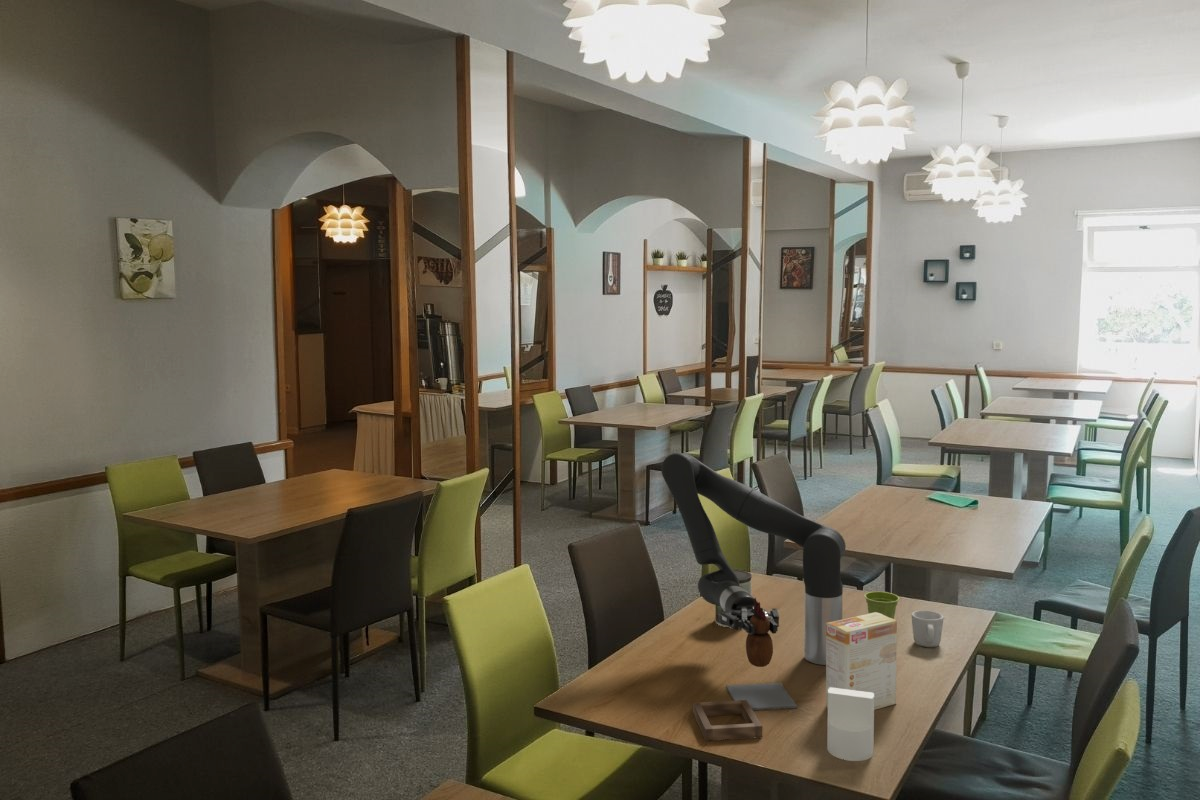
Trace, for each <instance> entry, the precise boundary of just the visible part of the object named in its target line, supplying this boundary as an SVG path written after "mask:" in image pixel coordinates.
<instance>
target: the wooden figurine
mask: <svg viewBox="0 0 1200 800" xmlns="http://www.w3.org/2000/svg"><path fill="white" fill-rule="evenodd" d="M757 602H758V606H757ZM763 609H764V608H763V607H761V602H760V601H758V600H757V597H755V598H754V616H752V618H751V619H750V622H751V623H752V624H753V625H754V635H750V634H749V633H747V635H746V640H745V641H746V642H745V651H746V656H747V659H748V662H749V663H750V664H751V666H754V667H758V668H763V667H767V666H768V665H769V664H770V663H771V661H772V658H773V655H774V647H773V646H774V645H773V644H774V643H773V639H772V637H771V634H770V633H769V631H770V630H769V629H770V622H769V619H768V618H767V617H766V616H765V612H763Z"/></svg>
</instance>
